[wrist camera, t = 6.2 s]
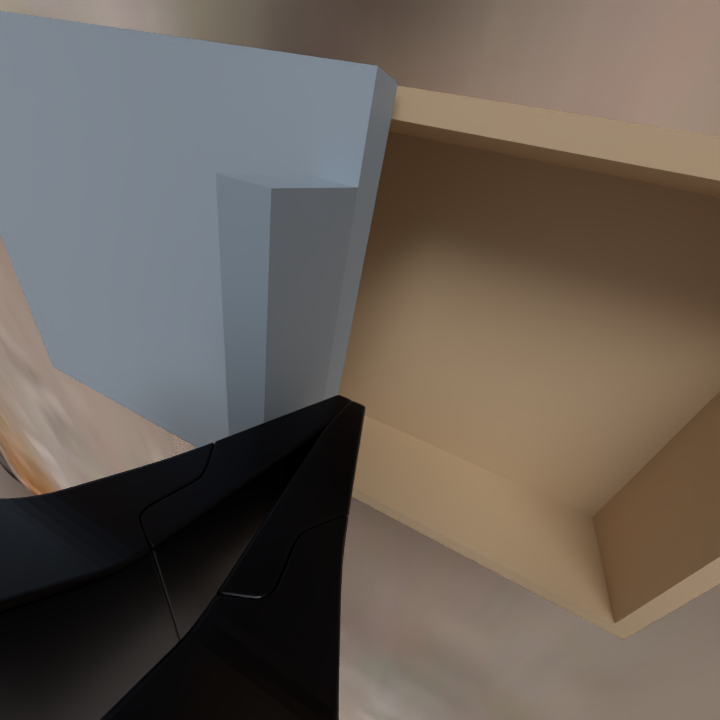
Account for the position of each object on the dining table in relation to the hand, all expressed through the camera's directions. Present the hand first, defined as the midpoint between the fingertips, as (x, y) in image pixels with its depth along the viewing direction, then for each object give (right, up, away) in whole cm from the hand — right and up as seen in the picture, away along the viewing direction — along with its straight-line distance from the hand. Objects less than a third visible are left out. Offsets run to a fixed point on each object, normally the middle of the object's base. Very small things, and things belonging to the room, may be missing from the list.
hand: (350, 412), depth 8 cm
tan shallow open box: (+6, +2, +5) cm, 8 cm away
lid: (-7, +4, +4) cm, 10 cm away
